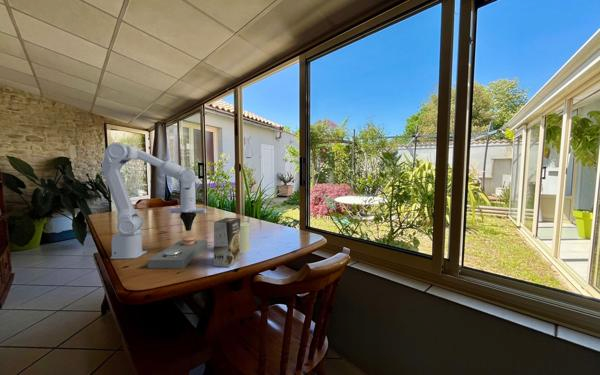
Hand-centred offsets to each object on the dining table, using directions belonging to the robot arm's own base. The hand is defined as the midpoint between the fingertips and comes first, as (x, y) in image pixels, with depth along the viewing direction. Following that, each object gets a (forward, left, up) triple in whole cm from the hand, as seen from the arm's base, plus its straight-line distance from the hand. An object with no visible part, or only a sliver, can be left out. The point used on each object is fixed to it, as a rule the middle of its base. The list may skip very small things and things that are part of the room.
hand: (188, 230), depth 103 cm
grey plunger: (0, -14, -9) cm, 16 cm away
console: (0, -7, -9) cm, 11 cm away
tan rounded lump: (0, 0, -7) cm, 7 cm away
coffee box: (+20, -14, -9) cm, 26 cm away
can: (+21, +1, -9) cm, 23 cm away
